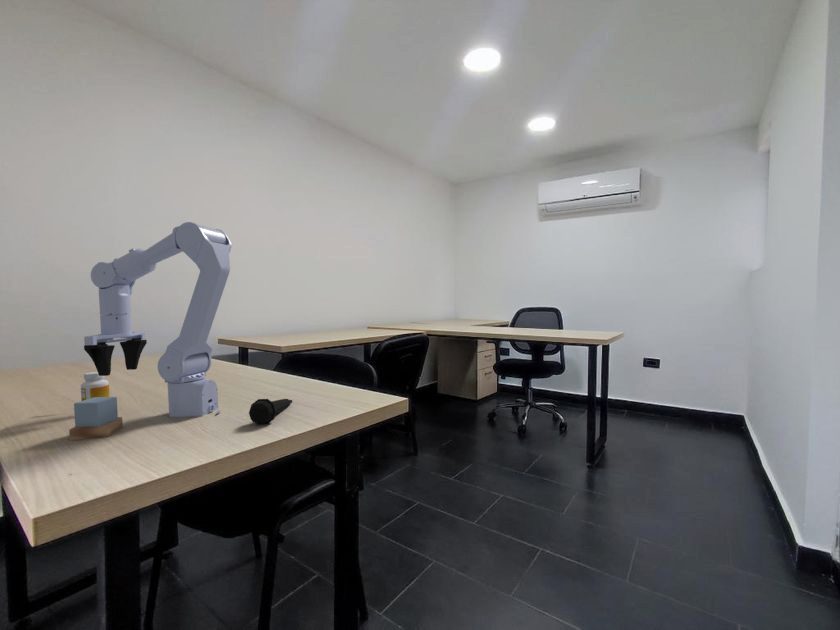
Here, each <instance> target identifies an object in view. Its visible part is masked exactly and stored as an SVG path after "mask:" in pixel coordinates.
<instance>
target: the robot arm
mask: <svg viewBox="0 0 840 630" xmlns="http://www.w3.org/2000/svg"><path fill="white" fill-rule="evenodd" d="M232 243H233V242H231V240H230V238H229V236H228V235H227V234H226V232H225V231H224V230H221V229H219V228H218V229H217V228H211V227H208V226H204V225H200V224H197V223H194V222H192V221H187V222H183V223H182V224H180V225H178V226H175V227H173V229H172V233H170V234H168V235H167V236H165V237H164V238H162V239H161V240H159V241H157V242H156V243H154V244H153V245H151V246H150V247H148V248H147V249H142V248H130V249H129V250H128V252H127V253H126V254H124V255H122V256H120V257H116V258H114V259H113V260H112V261H111V262H104V261H99V262H97V263H96V264H95V265H94V266H93V267H92V269H91V272H90V279H91V281H92V283H93V285H94V286H95V287H96V288H98V299H99V300H98V303H99V319H100V333H98V334H94V335H93V334H92V335H88V336H83V338H84V339H83V340H84V344H83V350H84V351H85V352H86V353H87V354H88V356H89V357H90V358H91V360H92V362H93V364H94V366H95V368H96V372H98V374H99V376H105V377H108V376H111V372H112V357H113V352H114V349H115V347H116V346H115V345H114V344H112V345H111V343H117V342H119V345H120V346H121V349H122V352H123V357H124V362H125V363H124V364H125V367H126V370H127V371H128V370H131V371H133V370H137V369H138V365H139V361H140V357H141V354H142V353H143V350H144V348H145V346H146V345H147V344H148V341H147V339H145V338H146V336H145V335H146V333H145V331H144V330H139V331H138V330H137V331H133V328H132V311H131V310H132V309H131V296H132V294H133V287H134V285H135V283H136V280H138V279H140V278H142V277H144V276H146V275H148V274H150V273H152V272H154V271H155V270H156V268H157V264H158V263H160V262H163V261H164V260H167V259H169V258H171V257H174V256H176V255H178V254H180V253H184V254H185V255H186V256H187V257H188V258H190V260H191V261H192V262H193V263H195V265H196V267H197V268H198V270H199V274H198V277H197V280H196V283H195V286H194V289H193V292H192V295H191V299H190V302H189V305H188V308H187V311H186V315H185V317H184V321H183V323H182V326H181V328H180V333H179V335H178V337H176V338H175V339H174V340H173V341H172V342H170V344H169V345H167V347H166V350H165V352H164V353H163V354H162V355H161V356H160V358H159V359H158V361H157V371H158V374H159V376H160V377H161V378H162V379H163V380H164V383H165V384H167V399H168V416H169V417H170V418H185V417H204V416H206V415H208V414H210V413H213V412H214V411H216V410H217V411H216V413H215V414H214V415H215V416H217V415H218V414H220V413H221V410H218V409H219V395H218V394H219V393H218V386H217V383H216V382H215V380H213V379H207V378H205V377H207V373H208V371H209V370H210V368H211V365H212V351H213V347H212V346H211V345H210V344H209V342H207V341H208V339H209V338H208V337H209V336H210V332H211V329H212V326H213V322H214V320H215V317H216V314H217V312H218V308H219V305H220V302H221V298H222V297H223V292H224V290H225V286H226V284H227V281H228V278H229V274H230V271H231V265H230V264H231V262H230V253H231V250H232V247H233V244H232ZM109 343H110V345H108V344H109Z"/></svg>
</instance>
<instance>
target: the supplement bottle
mask: <svg viewBox="0 0 840 630" xmlns="http://www.w3.org/2000/svg"><path fill="white" fill-rule="evenodd" d="M105 377H106V376H99V374H98V371H90V372H86V373H83V379H84V382H82V383H81V384H80V399H81V401H84V400H87V399H90V398H94V397H111V395H110V382H109V380H107V379H105Z"/></svg>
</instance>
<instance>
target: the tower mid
mask: <svg viewBox="0 0 840 630" xmlns="http://www.w3.org/2000/svg"><path fill="white" fill-rule="evenodd" d="M121 427H123V428H124V426H123V416H118V419H117V420H114V421H112V422H109V423H107V424H104V425H102V426H99V427H75V426H73V427H72V428H70V429H68V430H69V431H68V433H69V435H68V436H69V439H70V440H69V441H76V440H77V441H78V440H89V439H88V438H94V439H99V438H98V437H103V438H105V437H106V438H107V437H110V436H112V435H113V434H114V433H116V432H117V431H119V430H121V429H122V428H121ZM120 428H121V429H120ZM118 429H119V430H118Z"/></svg>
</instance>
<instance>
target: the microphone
mask: <svg viewBox="0 0 840 630" xmlns="http://www.w3.org/2000/svg"><path fill="white" fill-rule="evenodd" d="M292 402H293V399H289V398H281V399H277V400H270V399H268V398H259V399H256V400H255V401H254V402H253V403H252V404H251V405H250V409H249V412H248V414H249V415H248V416H249V418H250V420H251V421H252V422H253V423H255V424H256V425H268V424H270V423H271V422H273V421H274V420H275V417H276V416H278V415H279V413H281V412H282V411H284V410H286V409H287V408H289V407H290V406H291V403H292ZM283 409H284V410H283Z"/></svg>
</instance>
